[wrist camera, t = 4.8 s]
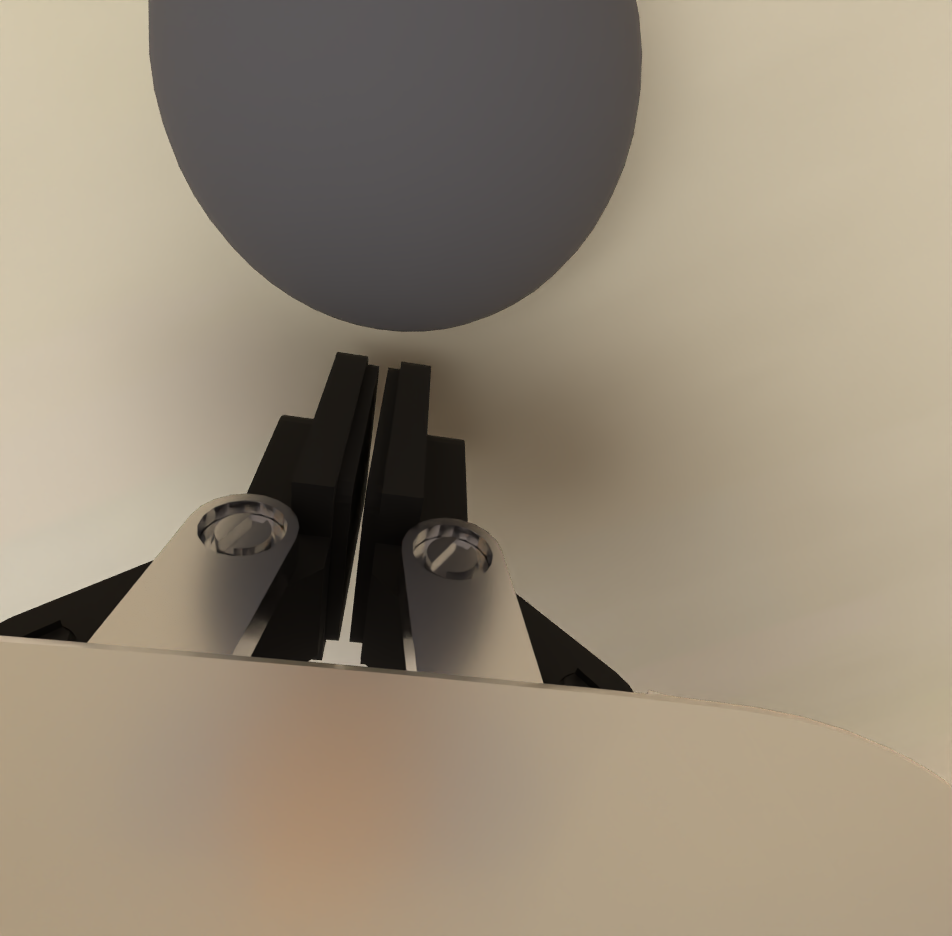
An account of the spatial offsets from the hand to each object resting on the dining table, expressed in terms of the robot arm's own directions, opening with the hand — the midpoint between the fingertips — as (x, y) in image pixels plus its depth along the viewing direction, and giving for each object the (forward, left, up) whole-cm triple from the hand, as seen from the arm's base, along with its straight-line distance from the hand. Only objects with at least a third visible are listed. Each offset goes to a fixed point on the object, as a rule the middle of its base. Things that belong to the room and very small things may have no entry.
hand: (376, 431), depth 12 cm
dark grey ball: (+3, -5, +1) cm, 6 cm away
